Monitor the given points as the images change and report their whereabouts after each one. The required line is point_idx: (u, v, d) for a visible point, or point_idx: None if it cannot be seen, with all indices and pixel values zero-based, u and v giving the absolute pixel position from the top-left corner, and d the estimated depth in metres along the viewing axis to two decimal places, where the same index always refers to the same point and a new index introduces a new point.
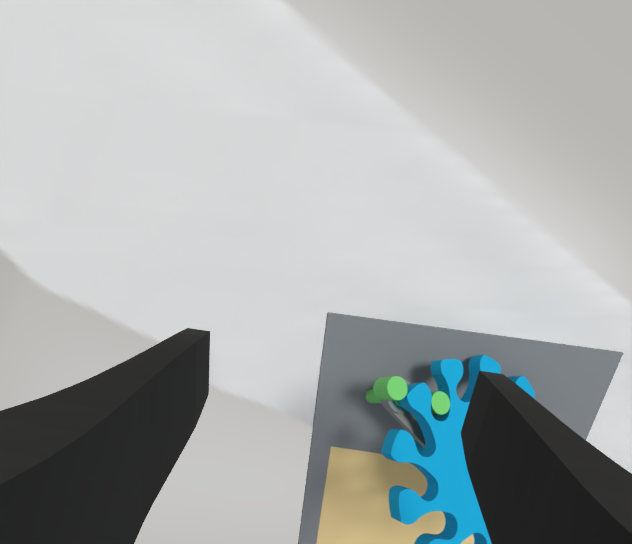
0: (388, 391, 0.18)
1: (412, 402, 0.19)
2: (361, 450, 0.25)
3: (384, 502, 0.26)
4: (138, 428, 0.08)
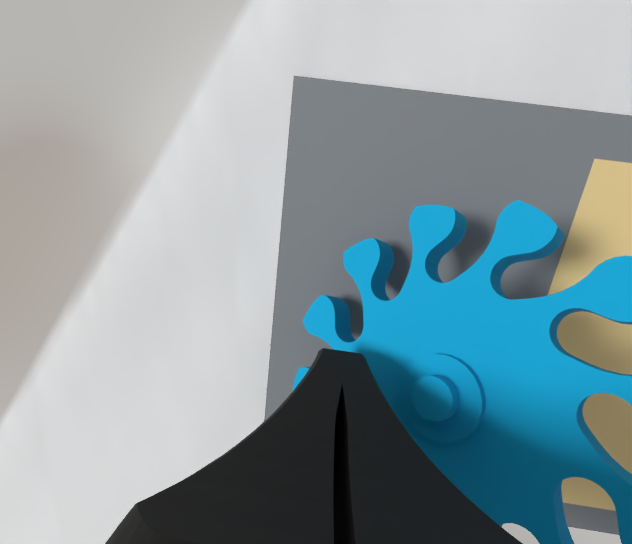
0: None
1: None
2: None
3: (614, 426, 0.15)
4: None
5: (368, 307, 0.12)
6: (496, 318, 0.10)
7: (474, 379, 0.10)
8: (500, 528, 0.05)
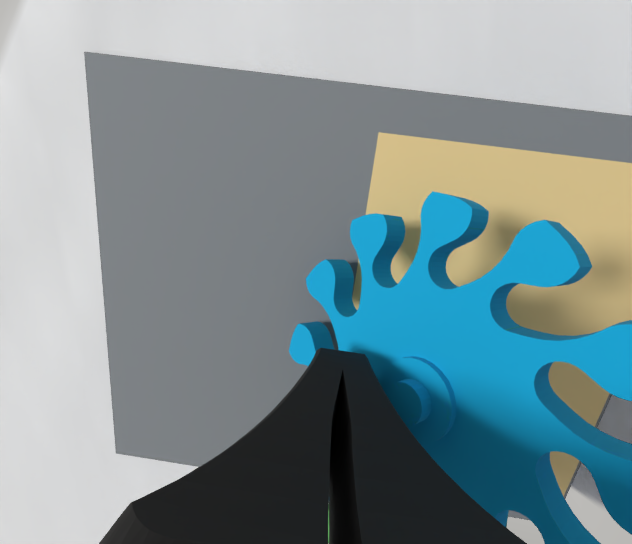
0: None
1: None
2: None
3: None
4: None
5: (337, 326, 0.12)
6: (443, 310, 0.10)
7: (439, 375, 0.10)
8: (506, 530, 0.05)
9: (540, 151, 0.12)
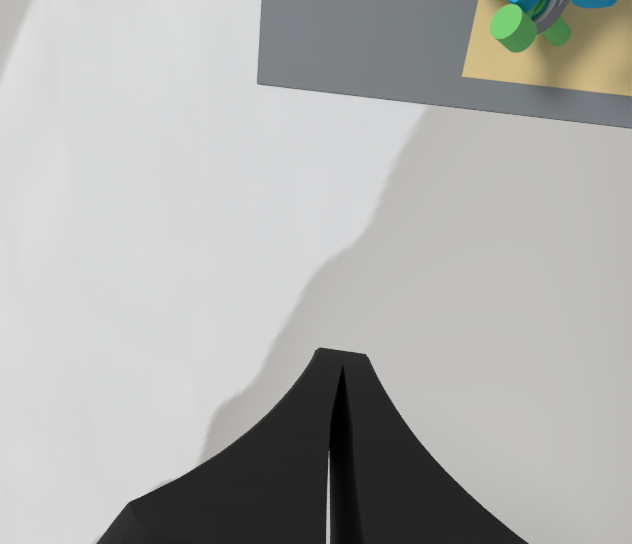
0: (510, 33, 0.13)
1: None
2: (471, 27, 0.17)
3: None
4: None
5: None
6: None
7: None
8: (508, 529, 0.05)
9: None
